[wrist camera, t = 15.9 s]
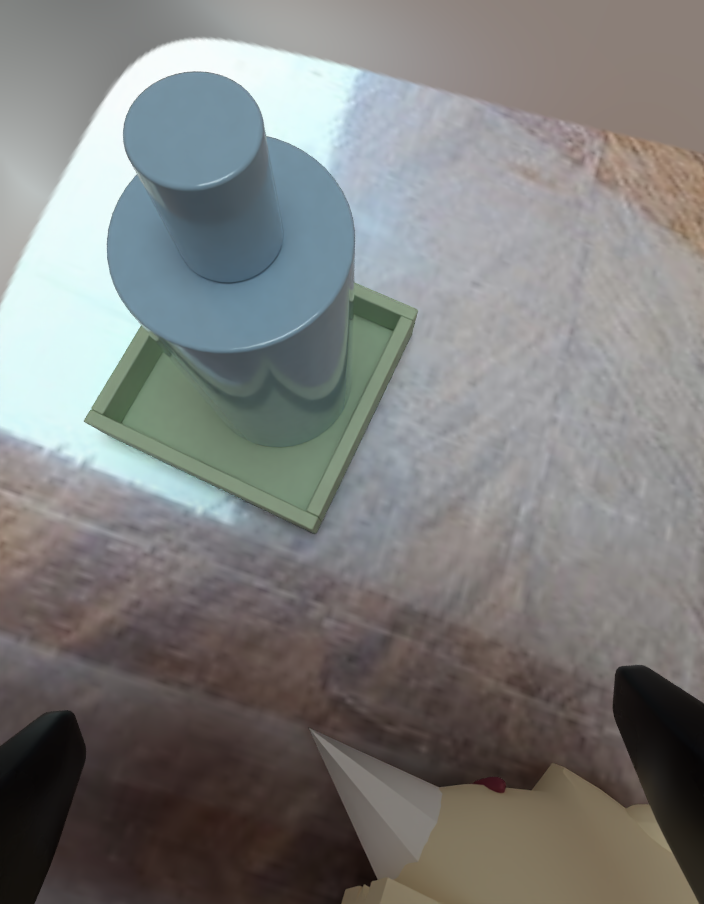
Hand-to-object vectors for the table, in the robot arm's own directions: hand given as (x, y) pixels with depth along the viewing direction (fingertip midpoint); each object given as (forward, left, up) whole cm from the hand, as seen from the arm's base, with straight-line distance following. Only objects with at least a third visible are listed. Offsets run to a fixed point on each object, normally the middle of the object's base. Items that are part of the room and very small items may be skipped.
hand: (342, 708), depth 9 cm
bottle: (+8, +6, -10) cm, 14 cm away
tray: (+7, +7, -11) cm, 15 cm away
